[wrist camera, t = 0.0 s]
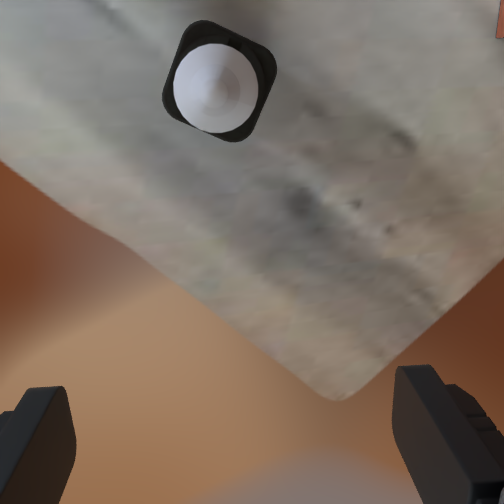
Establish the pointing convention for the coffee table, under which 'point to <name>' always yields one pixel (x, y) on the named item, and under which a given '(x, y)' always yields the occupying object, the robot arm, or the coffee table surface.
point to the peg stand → (501, 21)
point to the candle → (218, 81)
